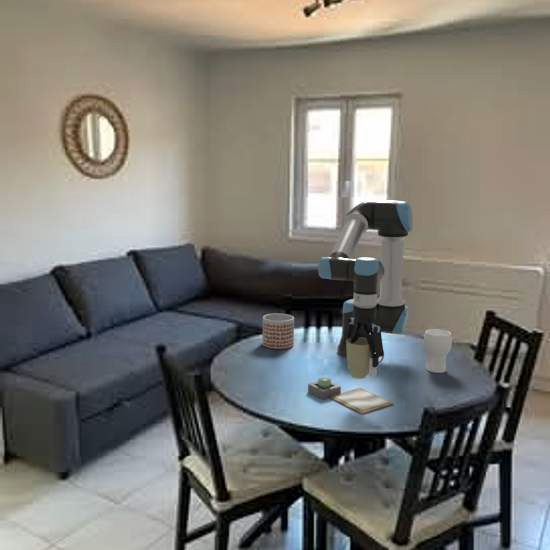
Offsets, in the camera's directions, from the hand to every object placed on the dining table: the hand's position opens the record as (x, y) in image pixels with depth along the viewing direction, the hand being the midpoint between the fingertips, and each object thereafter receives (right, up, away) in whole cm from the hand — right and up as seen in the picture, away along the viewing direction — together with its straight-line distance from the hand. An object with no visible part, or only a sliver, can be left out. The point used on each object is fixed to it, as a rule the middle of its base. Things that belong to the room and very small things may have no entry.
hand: (362, 371), depth 188 cm
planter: (-27, +1, +62) cm, 68 cm away
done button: (-12, -7, +8) cm, 16 cm away
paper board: (0, -10, +2) cm, 11 cm away
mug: (0, -2, 0) cm, 2 cm away
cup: (+34, -5, +33) cm, 48 cm away
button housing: (-12, -9, +8) cm, 17 cm away
